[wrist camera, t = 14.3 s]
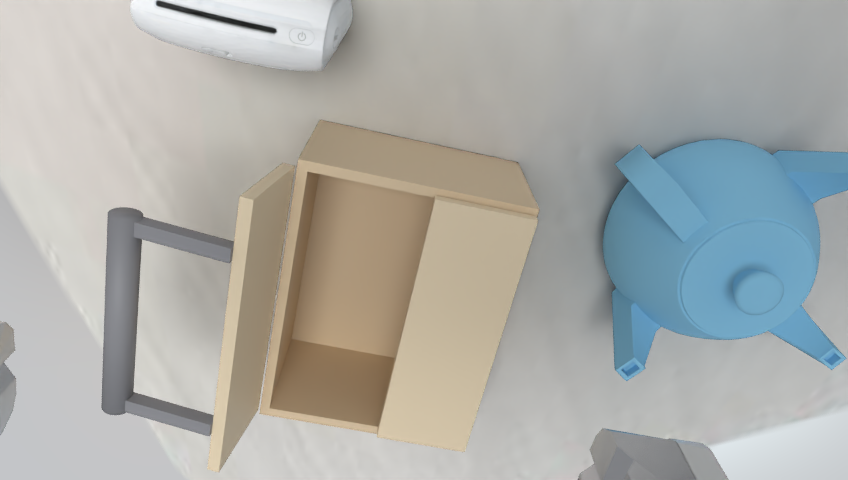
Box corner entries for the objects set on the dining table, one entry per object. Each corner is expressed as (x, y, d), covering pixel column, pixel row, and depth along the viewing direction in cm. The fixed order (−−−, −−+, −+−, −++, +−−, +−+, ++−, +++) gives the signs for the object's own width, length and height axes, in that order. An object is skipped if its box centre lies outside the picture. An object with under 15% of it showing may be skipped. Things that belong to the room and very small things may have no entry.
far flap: (247, 204, 31) (102, 165, 31) (213, 481, 38) (94, 446, 38) (295, 165, 37) (172, 133, 37) (258, 409, 44) (155, 380, 44)
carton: (517, 162, 47) (541, 214, 38) (456, 371, 54) (464, 456, 45) (319, 119, 45) (295, 163, 36) (284, 339, 52) (256, 421, 43)
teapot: (819, 116, 46) (930, 164, 36) (781, 307, 52) (867, 393, 42) (596, 127, 46) (645, 178, 36) (585, 316, 52) (624, 404, 42)
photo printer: (360, -17, 42) (339, -1, 30) (348, 52, 43) (324, 90, 32) (195, -58, 41) (110, -57, 29) (189, 14, 42) (106, 40, 31)
